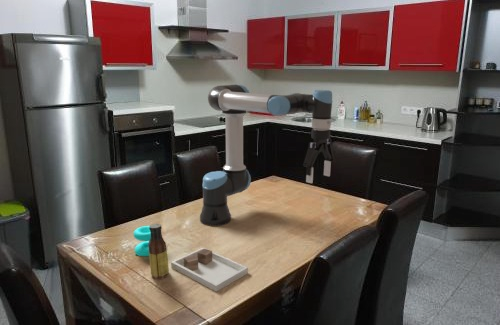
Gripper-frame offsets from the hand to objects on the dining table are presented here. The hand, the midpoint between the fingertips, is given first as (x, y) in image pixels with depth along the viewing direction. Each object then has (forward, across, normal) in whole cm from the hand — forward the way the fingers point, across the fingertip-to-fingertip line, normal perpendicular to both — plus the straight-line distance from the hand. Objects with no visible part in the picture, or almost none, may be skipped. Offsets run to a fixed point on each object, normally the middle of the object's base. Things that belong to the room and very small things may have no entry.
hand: (318, 179), depth 163 cm
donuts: (+28, -55, +44) cm, 76 cm away
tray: (+28, -49, +14) cm, 58 cm away
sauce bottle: (+28, -63, +25) cm, 74 cm away
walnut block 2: (+27, -46, +20) cm, 57 cm away
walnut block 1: (+27, -53, +20) cm, 63 cm away
